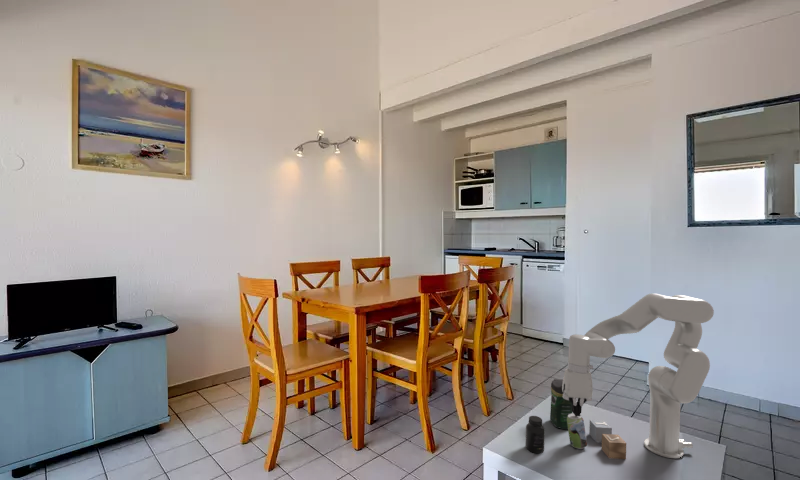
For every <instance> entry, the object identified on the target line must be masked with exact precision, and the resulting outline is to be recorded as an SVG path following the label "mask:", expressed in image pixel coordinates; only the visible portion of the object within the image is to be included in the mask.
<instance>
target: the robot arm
mask: <svg viewBox="0 0 800 480" xmlns="http://www.w3.org/2000/svg"><path fill="white" fill-rule="evenodd" d="M714 314H715V311H714V307H713V306H712V305H711V303H709V302H708V301H707V300H704V299H701V298H696V297H693V296H692V297H691V296H688V295H684V294H674V295H672V296H668V295H664V294H660V293H654V292H653V293H648V294H646V295H644V296H643V297H642V298H640V299H639V300H637V301H636V302H635V303H634V304H632V305H631V306H630V307H629V308H627V309H626V310H625V311H623V312H622V313H620V314H618V315H614V316H612V317H610V318H607V319H605V320H603V321H601V322H599V323H597V324H595V325H594V326H592V327H591V328H590V329H589V330H588V331H587V332H586V333H585V334H584V335H583V334H577V333H575V334H571V335H570V336H569V339H568V359H567V368H565V370H564V373H563V379H562V380H563V384H562V391H563V392H564V393H563V398H564V399H566V400H570V401H571V403H572V413H574V415H575V416H580V415H581V414H582V407H583V406H584V404H585V403H587V402H590V401H592V400H593V395H594V394H593V389H594V387H593V378H592V373H591V371H590V370H594V366H593V364H591V363H590V362H591V361H590V360H591V357H595V358H599V359H608V358H611V357H613V356H614V354H615V353H616V347H615V345H614V343H613V342H612V341H611V340H610V339H611V338H613V337H616V336H618V335H619V336H620V335H627V334H629V335H630V334H631V335H632V334H637V333H640V332H641V331H642V330H643V329H644V328H646V327H648V326H649V325H650V324H651V323H653V322H654V321H656V319H662V320H665V321H669V322H670V321H671V322H674V328H673V332H672V334H671V336H670V338H669V340H668V343H667V344H666V346H665V349H664V351H663V358H664V360H665V362H666V363H668V364H669V365H671V366H673V367H675V368H676V369H677V370H674V369H672V368H670V367H667V366H664V365H656V366H654V367H652V368H651V369H650V370H649V372H648V379H647V380H648V386H649V393H650V394H649V395H650V398H649V399H650V401H649V403H650V404H649V429H648V431H649V433H648V438H646V439H644V441H643V444H644V447H645V448H646V449H648V451H650V452H651V453H653V454H655V455H657V456H661V457H663V458H669V459H681V458H683V457H684V456H683V455H685V452H684V450H683V449H685V448H687V449H692V448H693V446H694V445H693V443H692V442H689V441H685V440H684V439H681V438H680V429H681V428H680V427H681V426H680V425H681V422H680V421H681V404H689V403H692V402H693V401H694V400H695V399H696V398H697V396H698V395H699V393H700V391H701V389H702V386H703V385H704V382H705V380H706V379H707V376H708V374H709V372H710V367H711V363H710V358H709V357H708V355H707V354H706V353H705V352H704V351H703V350H700V349H698V348H699V344H700V341H701V340H702V335H703V327H702V324H704V323H707V322H709V321H710V320H711V319H713V317H714ZM682 456H683V457H682ZM680 457H681V458H680Z"/></svg>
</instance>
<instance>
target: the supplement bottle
mask: <svg viewBox="0 0 800 480" xmlns="http://www.w3.org/2000/svg"><path fill="white" fill-rule="evenodd" d="M545 429H546V428H545V427H544V426H543V419H542V418H541V417H540V416H537V415H530V416H529V417H528V422H527V424H526V425H525V444H524V445H525V449H526V450H527V451H528V453H531V454H534V455H541V454H543V453H544V452H545V436H546V432H545V431H546V430H545Z"/></svg>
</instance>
